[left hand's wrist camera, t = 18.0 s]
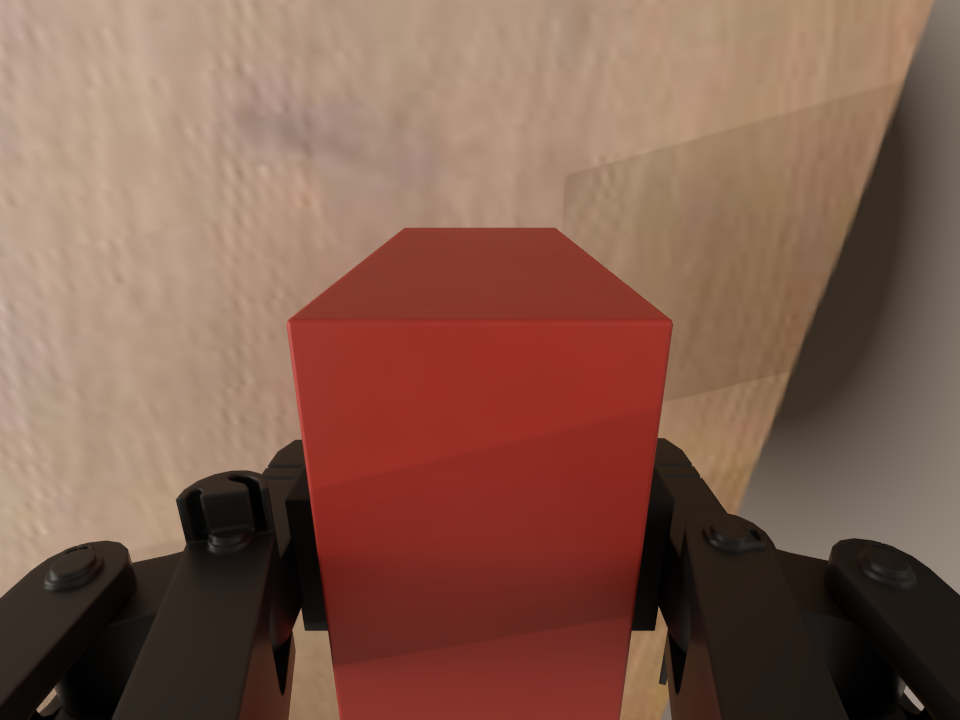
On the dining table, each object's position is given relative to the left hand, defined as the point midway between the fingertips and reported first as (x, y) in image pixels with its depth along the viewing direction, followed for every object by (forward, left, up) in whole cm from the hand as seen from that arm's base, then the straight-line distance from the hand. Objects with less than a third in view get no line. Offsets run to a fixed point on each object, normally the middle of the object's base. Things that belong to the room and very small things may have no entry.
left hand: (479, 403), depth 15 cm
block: (0, 0, -3) cm, 3 cm away
